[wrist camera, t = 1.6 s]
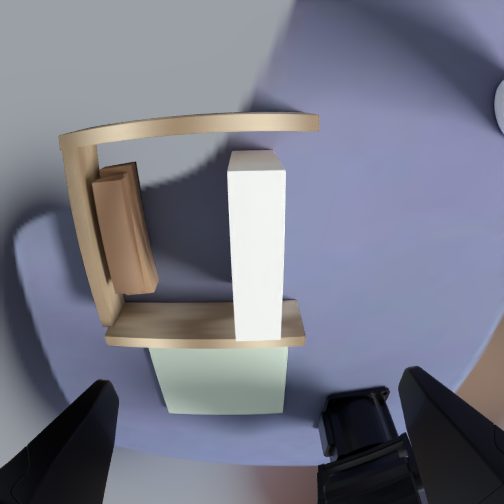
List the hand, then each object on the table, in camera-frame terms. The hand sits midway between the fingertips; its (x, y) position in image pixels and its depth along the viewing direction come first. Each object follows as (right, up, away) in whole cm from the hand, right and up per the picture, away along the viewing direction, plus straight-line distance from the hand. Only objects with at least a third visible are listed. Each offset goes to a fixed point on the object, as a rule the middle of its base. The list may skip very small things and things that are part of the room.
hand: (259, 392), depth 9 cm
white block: (0, +6, +12) cm, 13 cm away
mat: (-3, -6, +18) cm, 19 cm away
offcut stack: (-8, +6, +12) cm, 15 cm away
